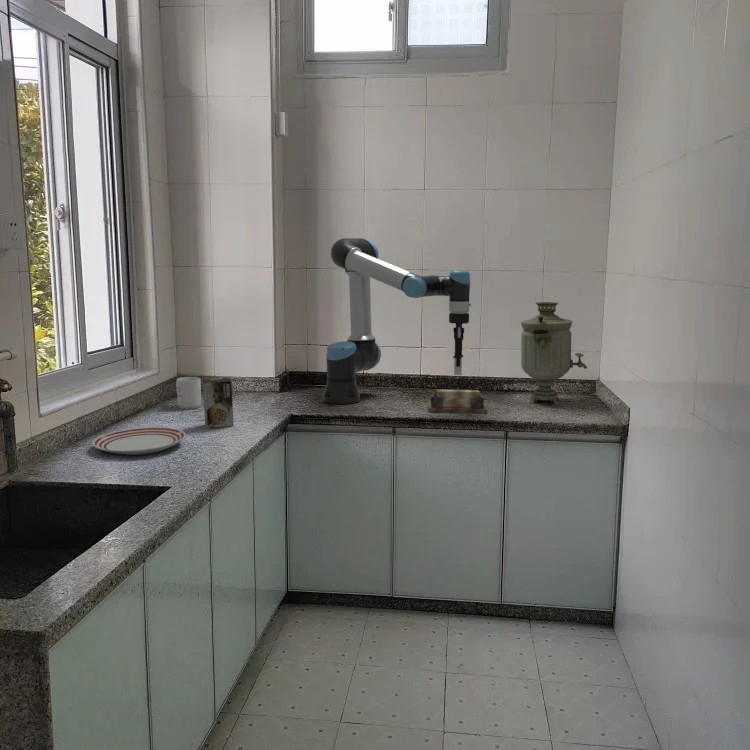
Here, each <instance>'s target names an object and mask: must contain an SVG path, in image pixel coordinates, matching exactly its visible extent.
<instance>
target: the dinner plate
mask: <svg viewBox="0 0 750 750" xmlns="http://www.w3.org/2000/svg"><path fill="white" fill-rule="evenodd" d="M186 436H187V433H185V431H184V430H181V429H178V428H174V427H167V426H166V427H165V426H163V427H162V426H161V427H160V426H149V427H147V426H146V427H136V428H128V429H121V430H117V431H112V432H108V433H106V434H103V435H101V436H98V437H97V438H95V439H93V441H92V444H91V445H92V446H93V447H94V448H95V449H97V450H100V451H103V452H107V453H112V454H115V453H116V454H115V455H121V454H126V455H125V456H140V454H143V455H149V453H150V454H155V452H156V453H159V452H162V451H165V450H168V449H169V448H171V447H173V446H176V445H178V444H179V443H180V442H182V441H183V440H185V438H186Z"/></svg>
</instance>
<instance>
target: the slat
mask: <svg viewBox="0 0 750 750" xmlns="http://www.w3.org/2000/svg"><path fill="white" fill-rule="evenodd" d="M436 394H437V397H443V407H471V397H474V398H479V395H480V390H477V389H436Z"/></svg>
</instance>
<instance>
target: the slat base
mask: <svg viewBox="0 0 750 750" xmlns="http://www.w3.org/2000/svg"><path fill="white" fill-rule="evenodd" d="M430 394H431V395H430V396H431V397H430V398H431V399H430V402H428V403H427V413H446V414H451V413H453V414H481V415H482V414H487V411H488V409H487V406H486V404H485V403H484V395H483V394H479V398H474V397H471V407H443V397H437V393H430Z"/></svg>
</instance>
